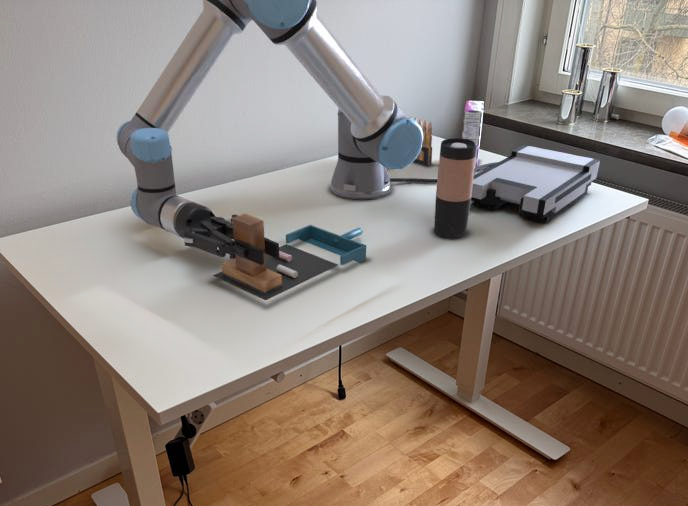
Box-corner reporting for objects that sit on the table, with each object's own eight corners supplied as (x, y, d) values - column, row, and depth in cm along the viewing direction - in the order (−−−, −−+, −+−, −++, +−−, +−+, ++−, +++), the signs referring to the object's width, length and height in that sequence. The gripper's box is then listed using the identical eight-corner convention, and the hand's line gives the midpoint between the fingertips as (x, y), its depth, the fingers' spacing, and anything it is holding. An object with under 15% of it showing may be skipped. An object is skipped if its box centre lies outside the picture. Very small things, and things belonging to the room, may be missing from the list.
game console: (459, 209, 169) (463, 175, 165) (518, 175, 191) (523, 144, 186) (540, 230, 159) (546, 195, 154) (593, 191, 180) (600, 160, 175)
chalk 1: (275, 255, 144) (277, 249, 144) (290, 262, 142) (292, 255, 141) (270, 255, 143) (272, 248, 143) (286, 261, 140) (288, 255, 140)
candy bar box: (460, 159, 202) (466, 99, 193) (477, 160, 201) (484, 100, 192) (458, 171, 193) (464, 110, 184) (476, 172, 192) (483, 111, 183)
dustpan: (342, 271, 141) (342, 256, 139) (286, 249, 150) (285, 234, 148) (389, 248, 151) (390, 233, 149) (334, 228, 159) (334, 214, 158)
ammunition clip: (399, 157, 203) (401, 115, 196) (403, 156, 204) (405, 114, 197) (427, 166, 196) (430, 122, 190) (431, 165, 197) (435, 121, 191)
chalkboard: (286, 250, 149) (286, 243, 149) (338, 271, 141) (338, 264, 140) (213, 282, 137) (212, 275, 136) (265, 307, 129) (265, 300, 128)
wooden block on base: (239, 267, 139) (235, 207, 132) (282, 286, 132) (279, 224, 125) (222, 275, 136) (216, 214, 129) (265, 294, 129) (261, 231, 123)
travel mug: (425, 232, 157) (433, 143, 146) (445, 223, 162) (454, 135, 151) (454, 242, 153) (463, 150, 142) (473, 232, 158) (484, 142, 147)
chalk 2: (281, 269, 138) (280, 263, 137) (298, 276, 136) (297, 270, 135) (276, 272, 137) (275, 266, 137) (293, 279, 135) (292, 273, 134)
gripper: (222, 226, 147) (301, 258, 134) (157, 250, 137) (237, 288, 124) (218, 191, 143) (300, 221, 130) (152, 213, 133) (234, 248, 120)
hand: (269, 254), depth 127 cm, fingers closed on wooden block on base, 3 cm apart
